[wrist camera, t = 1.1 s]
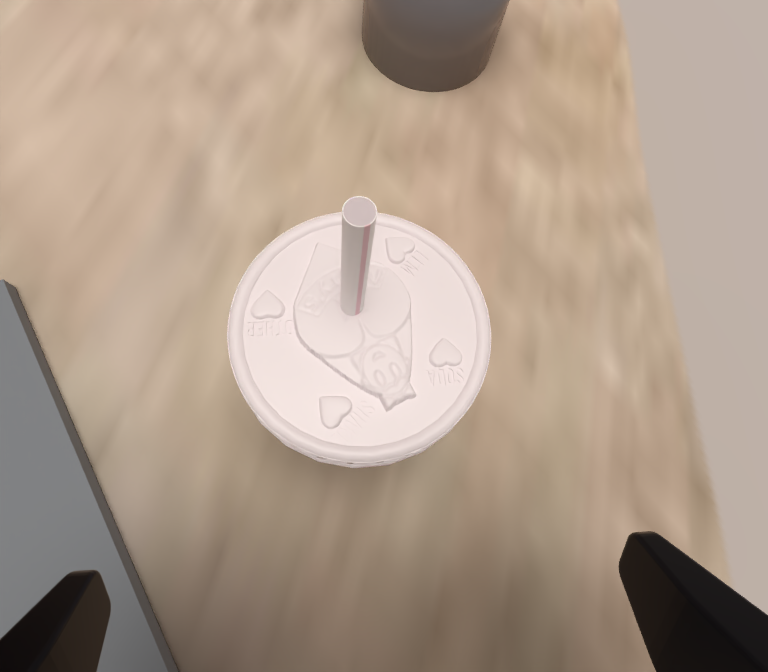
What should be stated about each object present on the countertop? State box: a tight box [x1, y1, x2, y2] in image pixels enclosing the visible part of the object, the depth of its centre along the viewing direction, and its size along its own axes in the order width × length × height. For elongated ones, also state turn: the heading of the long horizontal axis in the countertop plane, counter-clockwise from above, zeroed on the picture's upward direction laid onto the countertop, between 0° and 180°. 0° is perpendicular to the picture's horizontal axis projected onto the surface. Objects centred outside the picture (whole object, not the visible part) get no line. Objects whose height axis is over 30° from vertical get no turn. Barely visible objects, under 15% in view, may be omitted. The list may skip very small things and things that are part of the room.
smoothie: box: [227, 196, 491, 468], centre depth 15 cm, size 6×6×14 cm
